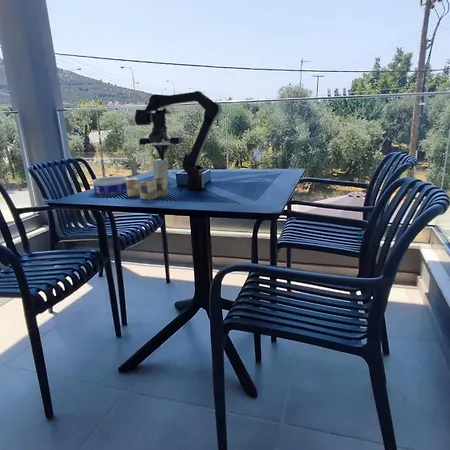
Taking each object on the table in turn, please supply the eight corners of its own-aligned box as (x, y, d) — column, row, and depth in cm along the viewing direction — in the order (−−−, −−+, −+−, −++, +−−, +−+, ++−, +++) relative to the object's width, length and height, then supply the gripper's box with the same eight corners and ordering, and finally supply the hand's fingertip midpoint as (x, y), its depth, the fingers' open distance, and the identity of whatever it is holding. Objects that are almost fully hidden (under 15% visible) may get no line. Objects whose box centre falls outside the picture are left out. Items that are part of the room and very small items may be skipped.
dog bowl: (87, 194, 161) (85, 181, 160) (108, 188, 175) (107, 175, 173) (115, 195, 156) (113, 182, 154) (135, 188, 170) (133, 176, 168)
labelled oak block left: (168, 193, 155) (166, 177, 153) (165, 196, 150) (163, 179, 148) (156, 194, 155) (155, 177, 153) (153, 196, 150) (151, 179, 148)
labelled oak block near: (157, 196, 150) (156, 179, 148) (150, 199, 145) (148, 182, 143) (148, 196, 152) (146, 179, 150) (140, 198, 148) (138, 181, 145)
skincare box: (160, 185, 174) (157, 160, 171) (154, 184, 177) (151, 160, 173) (169, 183, 179) (167, 158, 175) (163, 182, 182) (161, 158, 178)
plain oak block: (139, 193, 159) (137, 177, 157) (139, 195, 155) (137, 179, 153) (127, 194, 158) (125, 178, 156) (127, 196, 153) (125, 180, 151)
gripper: (132, 126, 152) (136, 162, 157) (173, 124, 149) (176, 162, 153) (142, 125, 163) (146, 159, 167) (181, 123, 159) (184, 159, 164)
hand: (162, 160), depth 163 cm, fingers closed
